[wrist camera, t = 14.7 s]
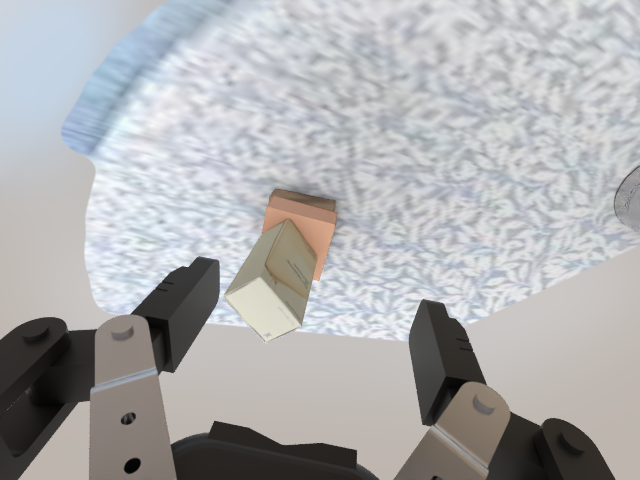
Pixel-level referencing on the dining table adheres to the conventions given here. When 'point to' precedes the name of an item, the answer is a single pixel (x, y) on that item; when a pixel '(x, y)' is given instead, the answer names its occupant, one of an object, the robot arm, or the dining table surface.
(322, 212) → the terracotta slab
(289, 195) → the walnut slab
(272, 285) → the skincare box
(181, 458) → the robot arm
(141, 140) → the dining table surface
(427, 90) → the dining table surface
